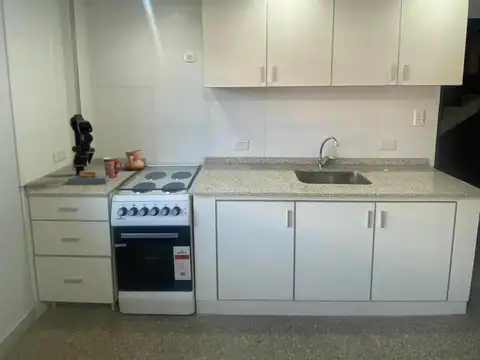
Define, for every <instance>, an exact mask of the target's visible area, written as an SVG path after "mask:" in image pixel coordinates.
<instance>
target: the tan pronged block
mask: <svg viewBox="0 0 480 360" xmlns="http://www.w3.org/2000/svg"><path fill="white" fill-rule="evenodd" d="M79 174H80V177H81V178H85V176H91V178H96V175H98V173H97V171H96V170H84V171H81V172H79Z"/></svg>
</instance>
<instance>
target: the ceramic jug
mask: <svg viewBox="0 0 480 360" xmlns="http://www.w3.org/2000/svg"><path fill="white" fill-rule="evenodd" d="M124 152H125V155H126V158H127V161H126V162H125V163H124V168H125V169H127V170H130V171H138V170H141V169H143V168H145V163H144V162H143V161H142V160H141V158H142V155H143V149H127V150H125V151H124Z"/></svg>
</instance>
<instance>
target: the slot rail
mask: <svg viewBox="0 0 480 360" xmlns="http://www.w3.org/2000/svg"><path fill="white" fill-rule="evenodd" d="M109 182H110V178H109V175H106V174H104V175H99V174H97V175H96V178H91V176H85V178H81V177H80V176H74V175H70V176H69V177H68V178H67V185H69V186H71V185H74V186H79V185H80V186H81V185H89V186H90V185H107V184H108V183H109Z"/></svg>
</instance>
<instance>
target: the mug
mask: <svg viewBox="0 0 480 360" xmlns="http://www.w3.org/2000/svg"><path fill="white" fill-rule="evenodd" d="M102 159H103V166H104V172H105V175H109V179H115V178H117V177H118V174H119V172H120V171H121V169H122V166H123V164H122V163H123V162H122V161H121V160H117V156H108V157H107V156H106V157H103V158H102ZM118 163H119V164H120V167H119V168H117V167H118V166H117V164H118ZM117 169H118V170H117Z"/></svg>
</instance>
